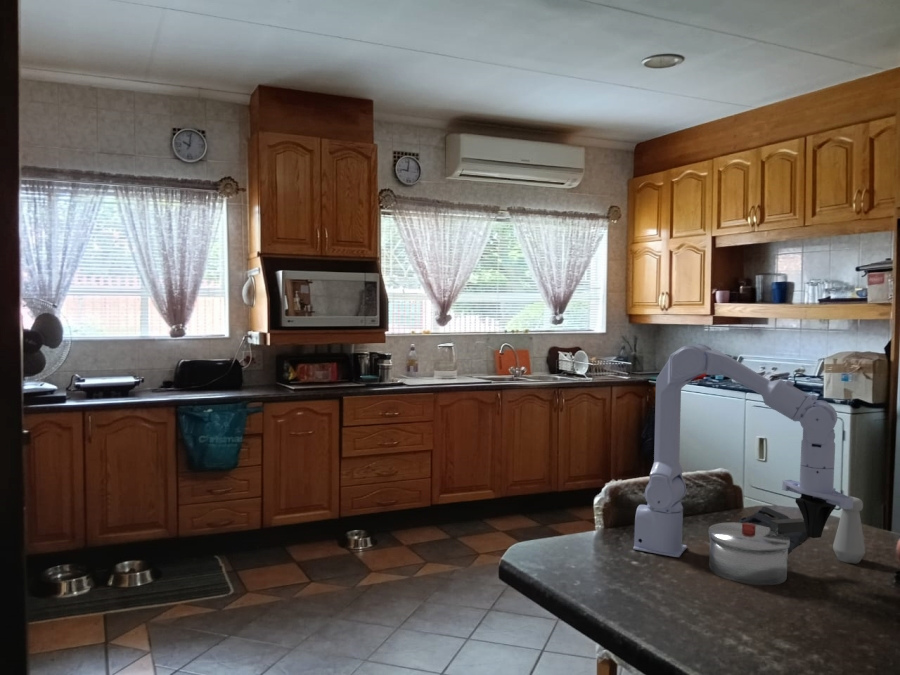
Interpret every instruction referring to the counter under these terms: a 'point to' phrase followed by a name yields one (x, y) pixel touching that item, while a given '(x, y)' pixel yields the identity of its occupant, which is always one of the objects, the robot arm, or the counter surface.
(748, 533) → the lid
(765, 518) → the dark slate chunk
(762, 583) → the pot
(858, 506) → the salt shaker
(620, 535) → the counter surface
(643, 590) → the counter surface
